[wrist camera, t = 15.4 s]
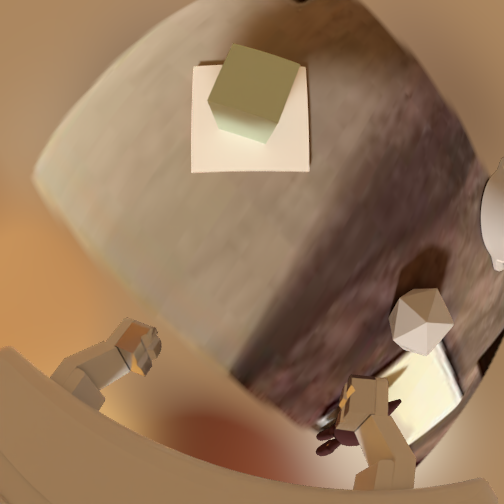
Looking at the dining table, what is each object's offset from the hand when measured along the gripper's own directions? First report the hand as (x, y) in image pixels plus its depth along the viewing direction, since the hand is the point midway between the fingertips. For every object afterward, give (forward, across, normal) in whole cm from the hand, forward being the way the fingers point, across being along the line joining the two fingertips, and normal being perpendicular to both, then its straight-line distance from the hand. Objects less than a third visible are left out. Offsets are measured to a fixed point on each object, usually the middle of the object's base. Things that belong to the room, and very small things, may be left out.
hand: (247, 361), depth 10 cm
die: (+22, -16, +16) cm, 31 cm away
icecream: (+15, -13, +33) cm, 38 cm away
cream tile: (+23, +7, -6) cm, 25 cm away
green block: (+22, +7, -6) cm, 24 cm away
